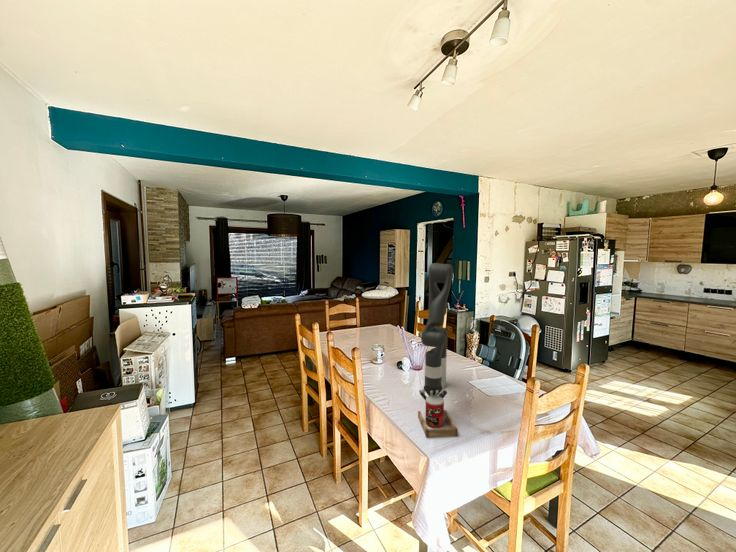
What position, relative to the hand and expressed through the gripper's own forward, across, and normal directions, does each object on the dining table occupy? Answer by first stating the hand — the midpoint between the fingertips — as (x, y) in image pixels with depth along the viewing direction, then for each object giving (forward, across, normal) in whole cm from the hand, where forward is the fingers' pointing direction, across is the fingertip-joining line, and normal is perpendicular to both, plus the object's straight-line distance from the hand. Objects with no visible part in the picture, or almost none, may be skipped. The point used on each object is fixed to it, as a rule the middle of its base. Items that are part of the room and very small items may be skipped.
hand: (432, 410), depth 140 cm
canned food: (+3, +1, +5) cm, 6 cm away
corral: (+3, 0, +8) cm, 8 cm away
